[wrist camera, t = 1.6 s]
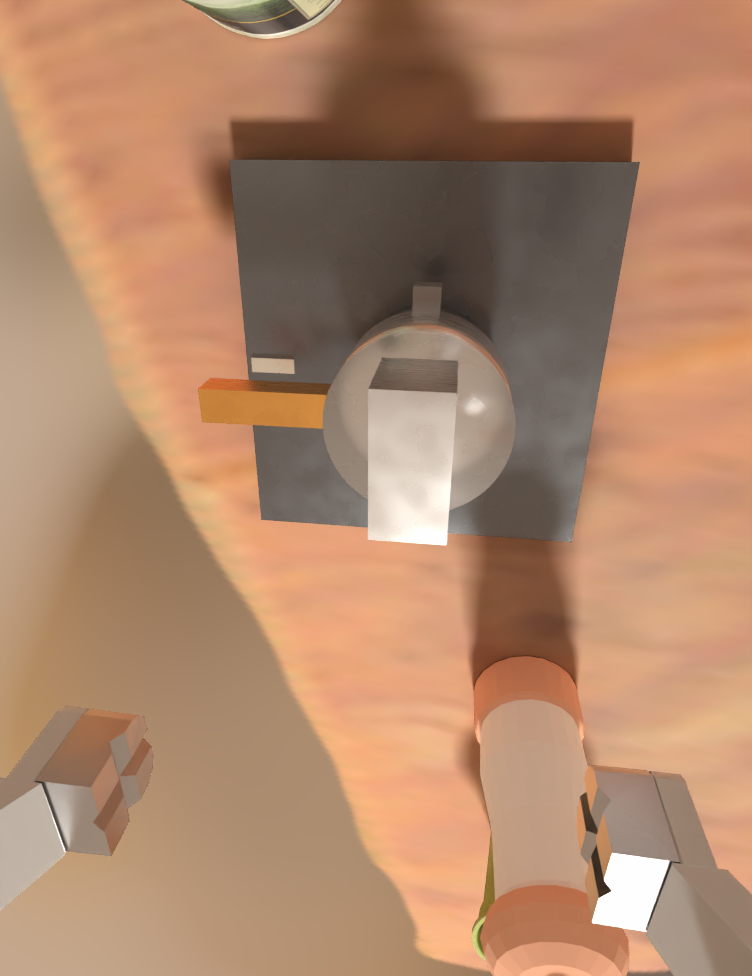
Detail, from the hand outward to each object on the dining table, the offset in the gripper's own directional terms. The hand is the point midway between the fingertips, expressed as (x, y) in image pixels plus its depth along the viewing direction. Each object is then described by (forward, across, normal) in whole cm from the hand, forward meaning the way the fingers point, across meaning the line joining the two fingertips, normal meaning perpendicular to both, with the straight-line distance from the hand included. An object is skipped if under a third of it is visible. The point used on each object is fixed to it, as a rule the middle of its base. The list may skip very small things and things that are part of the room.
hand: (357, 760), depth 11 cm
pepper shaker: (+27, -8, +24) cm, 37 cm away
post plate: (+26, 0, 0) cm, 26 cm away
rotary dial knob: (+21, +3, 0) cm, 21 cm away
